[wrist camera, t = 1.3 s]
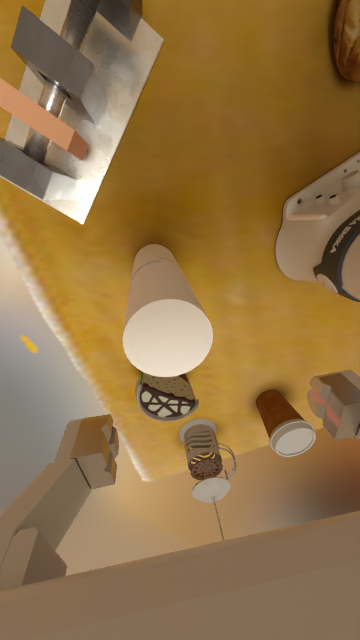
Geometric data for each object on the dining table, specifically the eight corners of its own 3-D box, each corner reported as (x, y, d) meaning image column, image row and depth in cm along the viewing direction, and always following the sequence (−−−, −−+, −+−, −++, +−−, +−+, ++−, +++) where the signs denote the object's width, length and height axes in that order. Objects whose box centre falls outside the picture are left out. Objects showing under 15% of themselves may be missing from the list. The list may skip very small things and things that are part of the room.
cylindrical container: (128, 248, 40) (110, 310, 17) (171, 240, 40) (207, 290, 18) (139, 289, 43) (135, 385, 21) (178, 281, 43) (216, 366, 21)
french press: (174, 424, 59) (194, 559, 37) (220, 412, 59) (266, 538, 37) (183, 449, 64) (204, 582, 41) (225, 437, 64) (269, 564, 42)
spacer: (29, 103, 27) (-4, 75, 21) (88, 144, 30) (74, 130, 24) (23, 121, 28) (-11, 99, 22) (82, 160, 30) (67, 150, 24)
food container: (126, 375, 51) (123, 413, 42) (139, 353, 49) (138, 387, 40) (177, 392, 55) (184, 430, 46) (191, 372, 53) (200, 407, 44)
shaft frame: (64, -48, 25) (17, -198, 16) (163, 44, 30) (172, -32, 20) (-2, 174, 33) (-61, 164, 23) (84, 223, 37) (63, 232, 27)
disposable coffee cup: (290, 404, 62) (321, 446, 51) (255, 418, 62) (279, 464, 52) (282, 378, 57) (313, 419, 47) (244, 395, 58) (268, 438, 47)
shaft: (63, -61, 22) (42, -128, 17) (142, 15, 24) (142, -26, 20) (-4, 165, 28) (-31, 159, 24) (65, 205, 31) (52, 206, 26)
